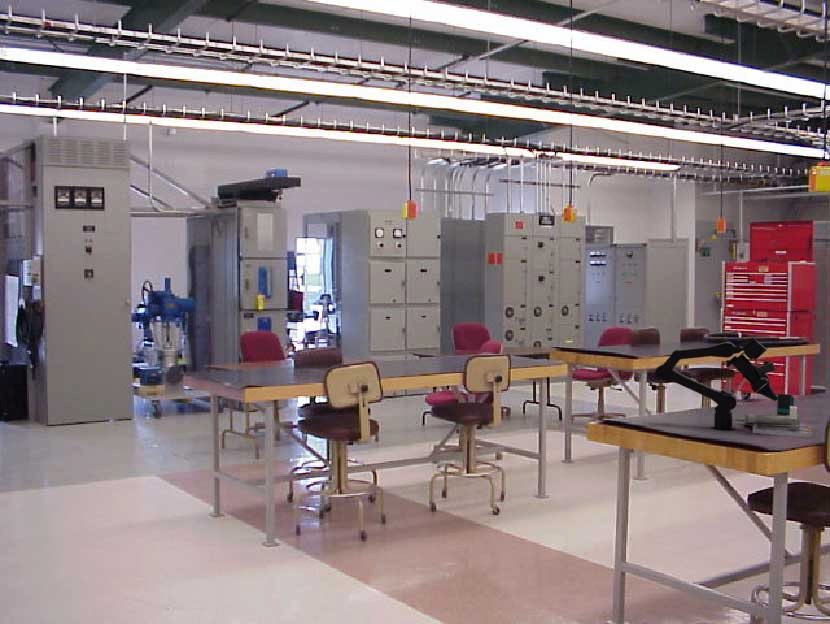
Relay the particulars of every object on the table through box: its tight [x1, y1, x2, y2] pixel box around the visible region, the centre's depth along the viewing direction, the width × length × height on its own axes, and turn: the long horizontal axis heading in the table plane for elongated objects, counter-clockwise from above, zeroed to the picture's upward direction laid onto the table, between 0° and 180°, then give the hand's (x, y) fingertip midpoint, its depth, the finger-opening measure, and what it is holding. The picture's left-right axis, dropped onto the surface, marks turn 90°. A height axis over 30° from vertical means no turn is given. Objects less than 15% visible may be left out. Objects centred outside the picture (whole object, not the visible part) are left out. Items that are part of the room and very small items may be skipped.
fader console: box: [752, 423, 813, 439], centre depth 319 cm, size 20×11×2 cm, turn 66°
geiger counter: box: [732, 412, 802, 428], centre depth 331 cm, size 14×6×25 cm
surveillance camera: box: [776, 393, 795, 416], centre depth 345 cm, size 6×12×10 cm
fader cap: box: [790, 406, 798, 430], centre depth 318 cm, size 2×4×8 cm, turn 156°
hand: (776, 399), depth 320 cm, fingers open, 5 cm apart
